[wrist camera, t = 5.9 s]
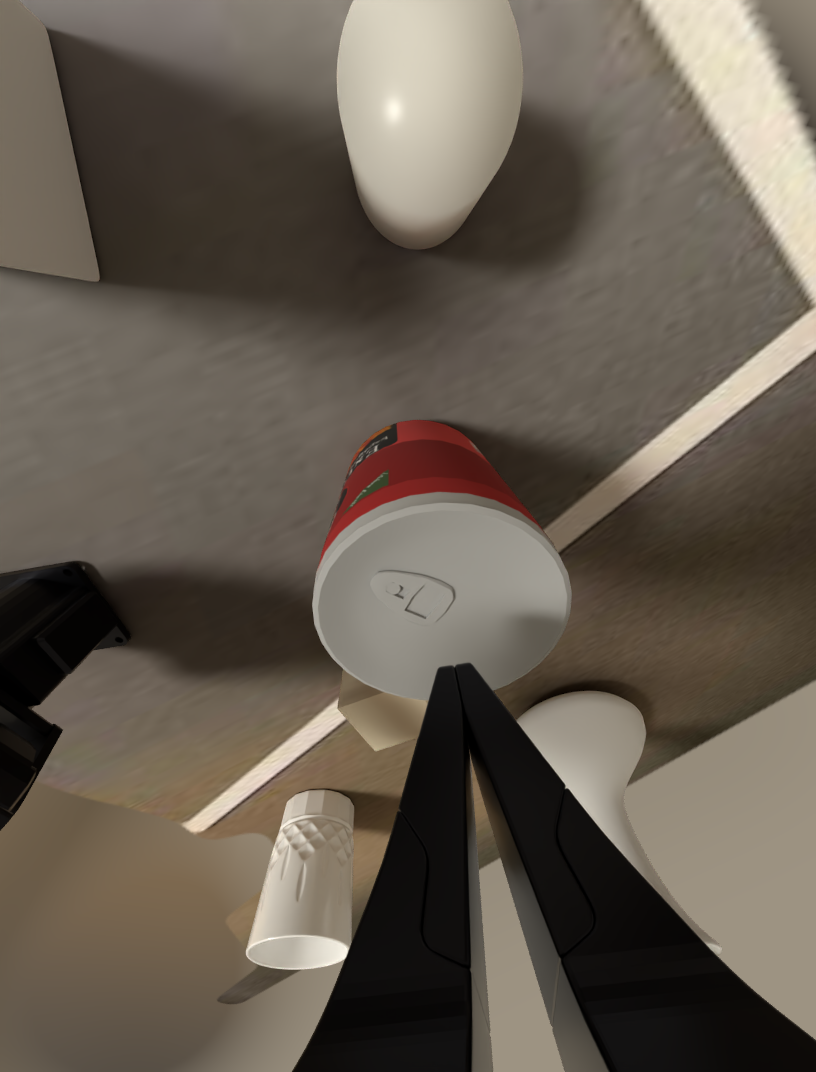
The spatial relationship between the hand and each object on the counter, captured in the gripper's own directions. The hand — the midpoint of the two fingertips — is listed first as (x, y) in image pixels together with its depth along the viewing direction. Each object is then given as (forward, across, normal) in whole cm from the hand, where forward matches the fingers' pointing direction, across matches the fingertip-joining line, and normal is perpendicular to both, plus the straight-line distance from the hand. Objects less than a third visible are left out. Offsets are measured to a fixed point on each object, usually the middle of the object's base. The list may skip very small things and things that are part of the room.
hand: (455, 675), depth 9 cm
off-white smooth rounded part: (+13, -2, -13) cm, 19 cm away
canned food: (+13, 0, 0) cm, 13 cm away
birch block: (+13, +4, +13) cm, 19 cm away
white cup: (+13, +15, +32) cm, 38 cm away
